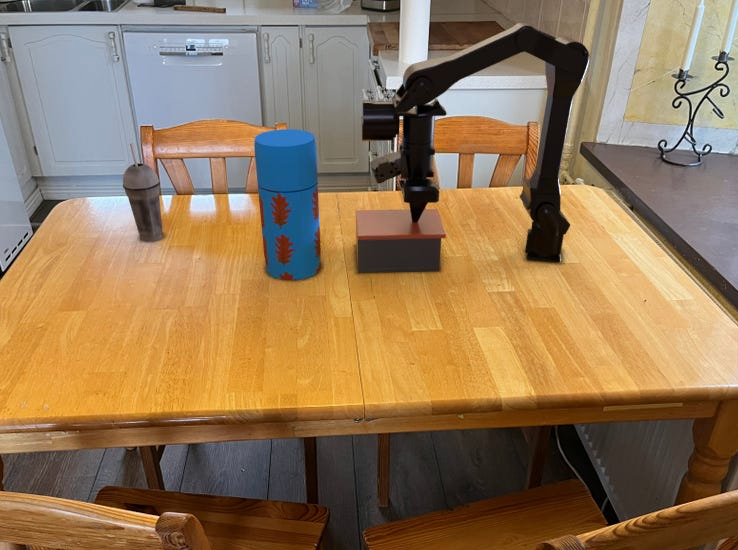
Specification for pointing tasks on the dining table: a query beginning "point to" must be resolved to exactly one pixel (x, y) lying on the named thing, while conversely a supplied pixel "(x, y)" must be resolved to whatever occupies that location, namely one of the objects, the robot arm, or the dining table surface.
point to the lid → (398, 224)
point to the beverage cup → (144, 199)
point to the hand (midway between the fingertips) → (414, 221)
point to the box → (398, 255)
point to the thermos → (289, 202)
